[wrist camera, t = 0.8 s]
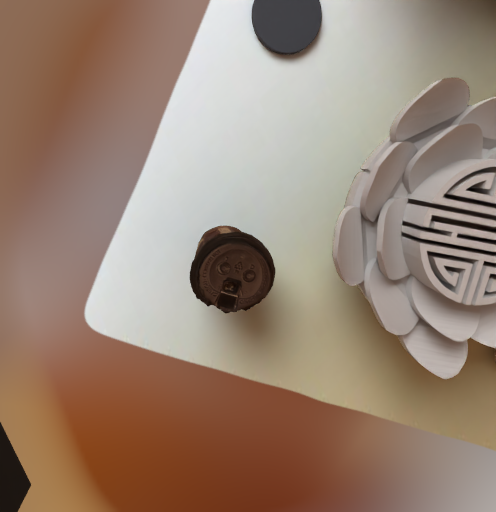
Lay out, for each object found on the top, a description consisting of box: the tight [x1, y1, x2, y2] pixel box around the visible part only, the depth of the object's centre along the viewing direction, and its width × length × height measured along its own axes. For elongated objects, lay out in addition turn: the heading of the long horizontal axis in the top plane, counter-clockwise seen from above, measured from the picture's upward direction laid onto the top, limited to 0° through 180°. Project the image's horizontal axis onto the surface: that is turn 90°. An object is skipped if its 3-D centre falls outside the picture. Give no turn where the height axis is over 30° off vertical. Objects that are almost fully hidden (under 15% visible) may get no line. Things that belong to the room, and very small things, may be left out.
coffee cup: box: [190, 226, 275, 313], centre depth 48 cm, size 9×8×13 cm
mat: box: [252, 0, 321, 54], centre depth 49 cm, size 8×8×1 cm
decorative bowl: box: [333, 78, 496, 379], centre depth 50 cm, size 30×30×15 cm
